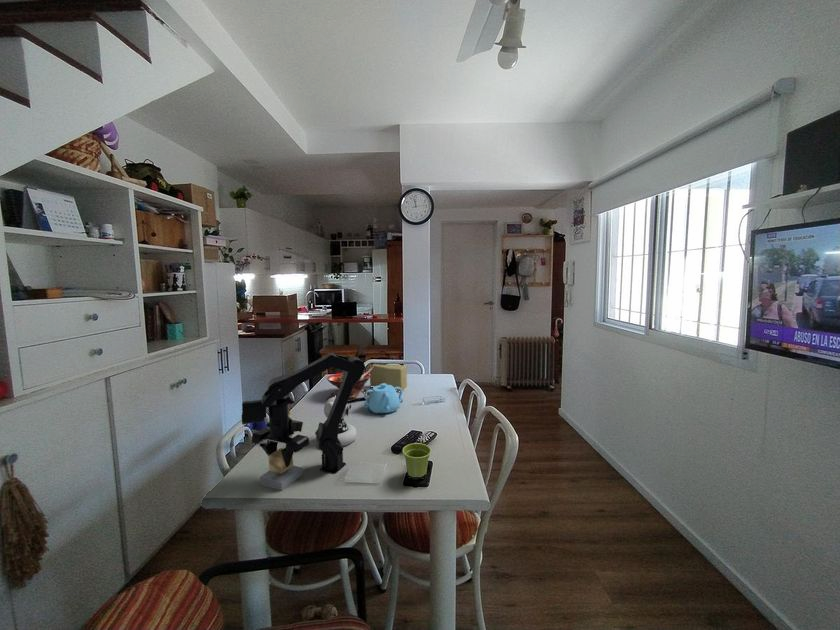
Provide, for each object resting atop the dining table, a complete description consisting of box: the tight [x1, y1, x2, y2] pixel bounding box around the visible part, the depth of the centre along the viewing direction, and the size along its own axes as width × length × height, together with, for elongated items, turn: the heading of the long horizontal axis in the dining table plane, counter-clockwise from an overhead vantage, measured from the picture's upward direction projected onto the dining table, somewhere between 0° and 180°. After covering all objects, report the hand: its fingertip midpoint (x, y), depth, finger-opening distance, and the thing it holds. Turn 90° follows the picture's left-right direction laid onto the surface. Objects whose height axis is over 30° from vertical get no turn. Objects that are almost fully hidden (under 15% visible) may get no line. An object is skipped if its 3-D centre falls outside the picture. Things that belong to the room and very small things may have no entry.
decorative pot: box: [363, 383, 404, 414], centre depth 163 cm, size 16×16×14 cm
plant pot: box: [402, 442, 432, 477], centre depth 107 cm, size 9×9×9 cm
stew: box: [326, 366, 375, 402], centre depth 183 cm, size 28×24×16 cm
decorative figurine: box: [323, 397, 358, 447], centre depth 131 cm, size 15×15×20 cm
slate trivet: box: [259, 464, 304, 492], centre depth 106 cm, size 9×9×2 cm
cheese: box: [369, 363, 408, 392], centre depth 195 cm, size 22×10×15 cm, turn 73°
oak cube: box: [268, 448, 294, 474], centre depth 105 cm, size 5×5×5 cm
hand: (281, 464), depth 105 cm, fingers closed on oak cube, 5 cm apart
